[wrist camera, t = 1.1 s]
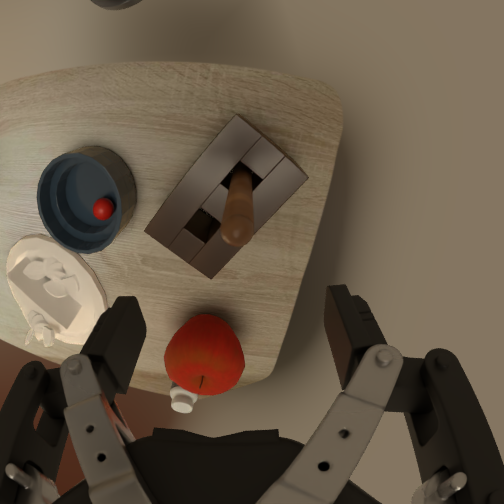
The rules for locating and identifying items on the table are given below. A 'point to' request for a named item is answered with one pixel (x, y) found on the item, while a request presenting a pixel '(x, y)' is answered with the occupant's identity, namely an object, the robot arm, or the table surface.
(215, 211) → the stand
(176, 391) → the pill bottle
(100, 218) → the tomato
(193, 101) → the table surface
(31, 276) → the dish
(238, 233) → the stick
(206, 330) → the apple
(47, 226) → the bowl
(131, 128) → the table surface
